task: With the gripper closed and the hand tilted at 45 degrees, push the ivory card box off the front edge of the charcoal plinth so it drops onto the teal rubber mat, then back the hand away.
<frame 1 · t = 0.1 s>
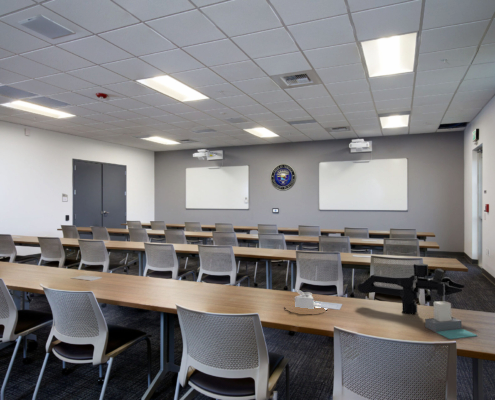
hand: (463, 288, 168), 17 cm above the table, tool horizontal, fingers open, 9 cm apart
mat: (456, 334, 152), on the table
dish: (306, 309, 197), on the table
card box: (442, 319, 160), point 4 cm above the table, touching plinth
plinth: (443, 328, 160), on the table
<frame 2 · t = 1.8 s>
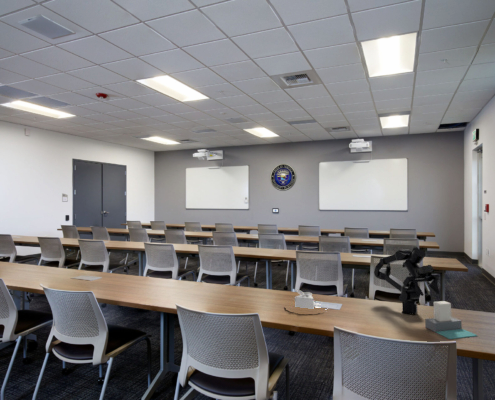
hand: (430, 294, 168), 14 cm above the table, tool tilted 45°, fingers open, 9 cm apart
nothing on the table moved.
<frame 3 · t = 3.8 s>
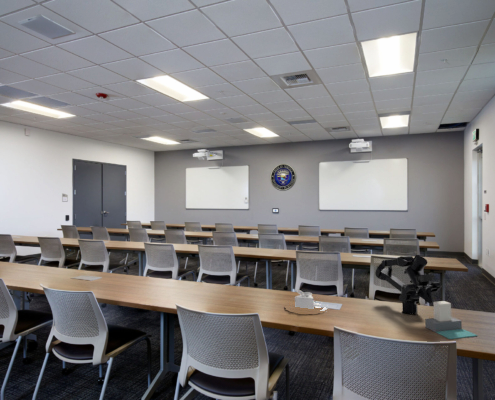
hand: (431, 303, 168), 10 cm above the table, tool tilted 45°, fingers closed
nothing on the table moved.
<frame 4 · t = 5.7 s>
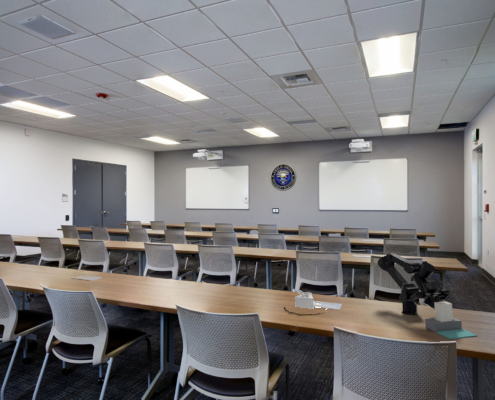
hand: (439, 311, 162), 7 cm above the table, tool tilted 45°, fingers closed
nothing on the table moved.
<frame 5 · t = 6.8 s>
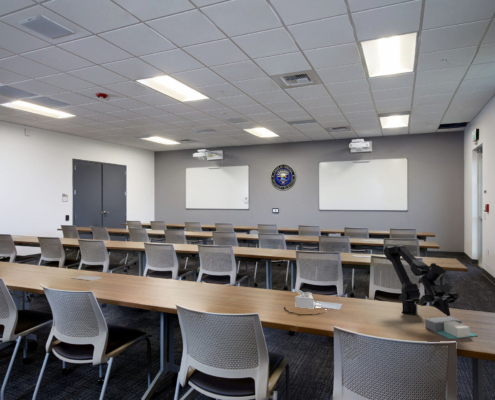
hand: (449, 315, 156), 7 cm above the table, tool tilted 45°, fingers closed
card box: (449, 326, 156), point 2 cm above the table, tilted 90°, touching mat
everything else where it was.
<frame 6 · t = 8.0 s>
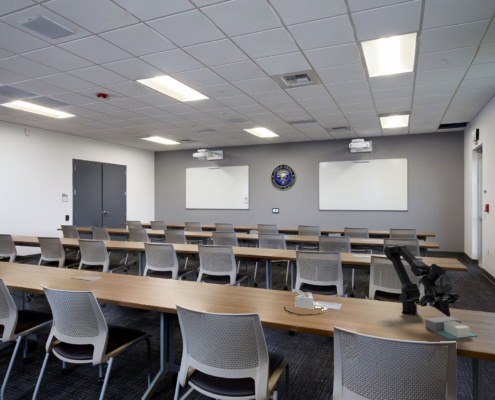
hand: (449, 316, 156), 7 cm above the table, tool tilted 45°, fingers closed
nothing on the table moved.
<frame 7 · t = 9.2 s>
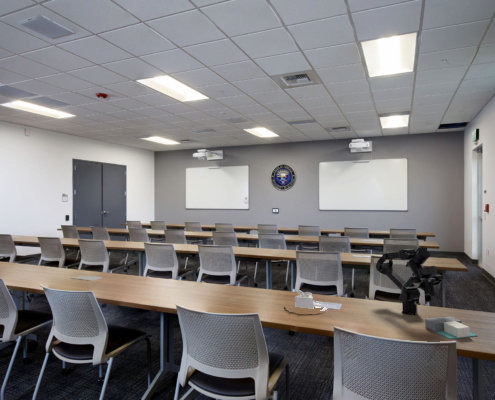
hand: (433, 296, 166), 14 cm above the table, tool tilted 45°, fingers closed
nothing on the table moved.
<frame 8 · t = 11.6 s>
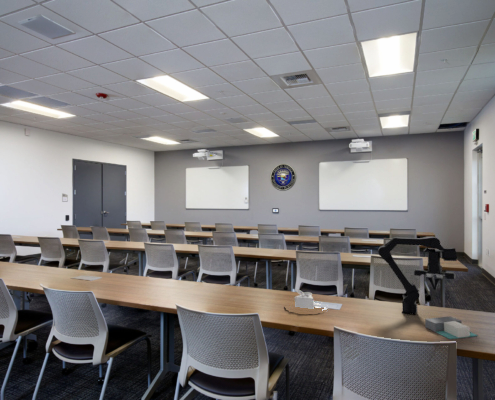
hand: (435, 290, 180), 13 cm above the table, tool pointing down, fingers closed
nothing on the table moved.
at the end: card box point 2.4 cm above the table; card box 3.8 cm from the mat (horizontally) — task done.
